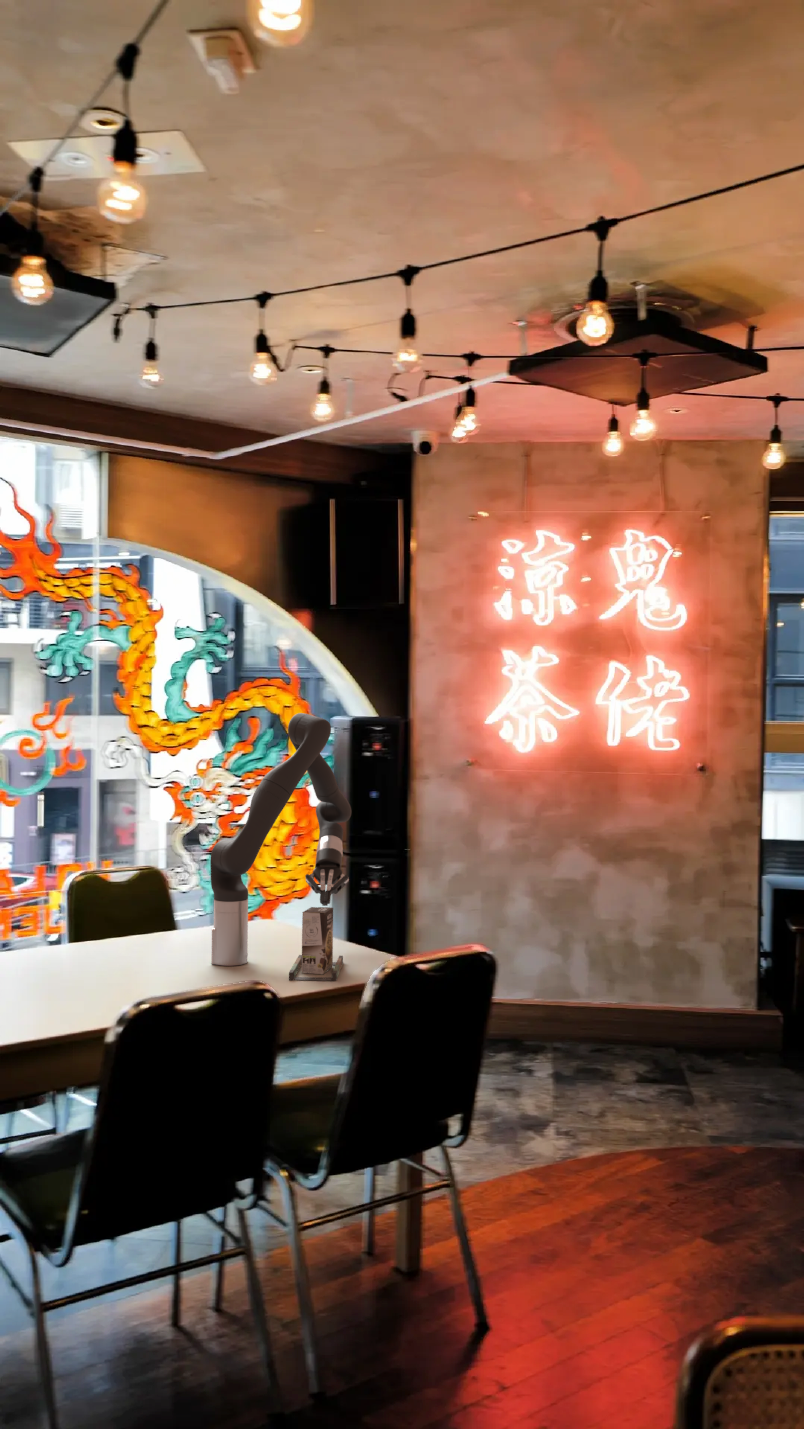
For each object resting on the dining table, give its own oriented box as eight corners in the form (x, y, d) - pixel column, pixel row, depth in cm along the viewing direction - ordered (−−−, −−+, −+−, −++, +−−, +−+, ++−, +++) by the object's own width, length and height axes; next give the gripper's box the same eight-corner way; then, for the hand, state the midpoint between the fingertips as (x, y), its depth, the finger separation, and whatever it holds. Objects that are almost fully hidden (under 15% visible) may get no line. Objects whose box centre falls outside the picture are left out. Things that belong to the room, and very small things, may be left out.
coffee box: (324, 974, 294) (325, 912, 294) (300, 973, 295) (301, 911, 295) (333, 967, 303) (334, 906, 303) (310, 965, 304) (311, 905, 304)
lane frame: (288, 980, 287) (288, 972, 287) (299, 962, 308) (299, 954, 308) (335, 981, 287) (335, 973, 287) (342, 962, 308) (342, 955, 308)
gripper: (305, 846, 327) (300, 895, 314) (351, 847, 326) (347, 896, 314) (307, 862, 332) (302, 911, 320) (352, 863, 331) (348, 912, 319)
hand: (324, 904), depth 317 cm, fingers closed
